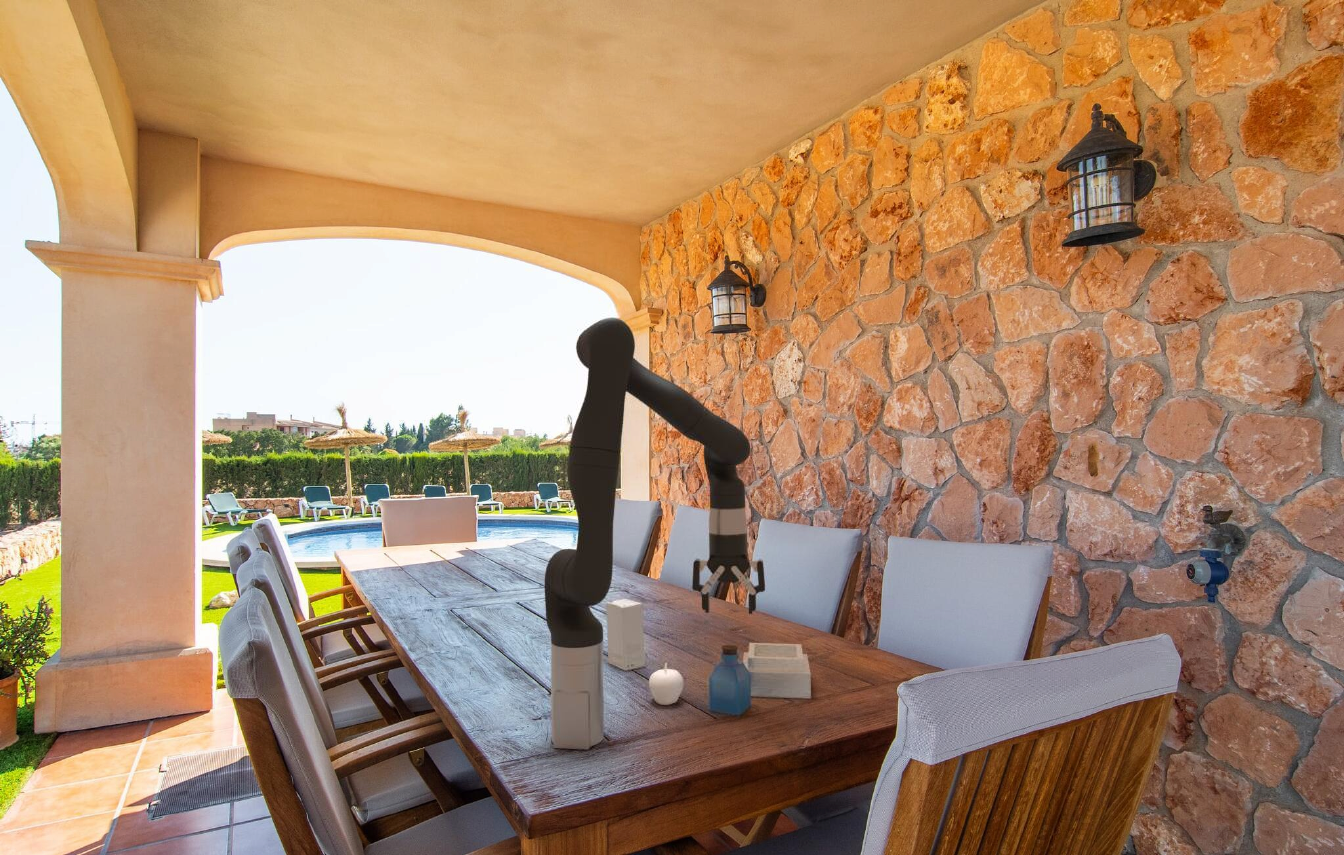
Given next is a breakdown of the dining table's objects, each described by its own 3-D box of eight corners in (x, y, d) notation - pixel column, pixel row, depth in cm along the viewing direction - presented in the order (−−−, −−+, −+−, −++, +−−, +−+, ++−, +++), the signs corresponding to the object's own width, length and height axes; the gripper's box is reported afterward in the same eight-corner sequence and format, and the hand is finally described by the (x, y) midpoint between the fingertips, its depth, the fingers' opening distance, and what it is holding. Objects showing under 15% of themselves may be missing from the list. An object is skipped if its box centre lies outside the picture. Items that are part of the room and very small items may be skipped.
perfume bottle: (709, 710, 141) (708, 648, 141) (722, 700, 147) (721, 641, 147) (738, 716, 138) (738, 653, 139) (750, 705, 144) (750, 644, 144)
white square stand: (810, 698, 147) (810, 661, 147) (741, 696, 149) (741, 659, 149) (807, 676, 161) (806, 642, 161) (744, 674, 163) (743, 641, 163)
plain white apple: (646, 707, 143) (646, 666, 143) (652, 695, 150) (651, 656, 150) (681, 709, 142) (681, 668, 142) (685, 696, 149) (685, 657, 149)
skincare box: (645, 667, 169) (645, 603, 169) (623, 672, 166) (622, 606, 166) (627, 658, 176) (627, 597, 176) (605, 663, 173) (605, 600, 173)
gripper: (690, 532, 140) (691, 616, 140) (764, 533, 139) (765, 618, 138) (694, 528, 148) (695, 607, 148) (764, 528, 146) (765, 608, 146)
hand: (729, 612), depth 143 cm, fingers open, 8 cm apart
